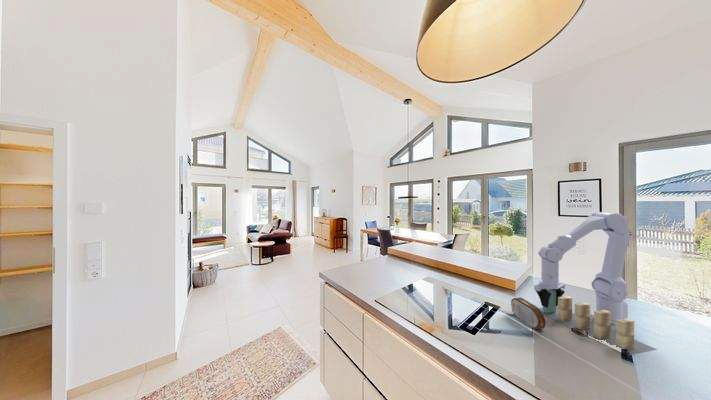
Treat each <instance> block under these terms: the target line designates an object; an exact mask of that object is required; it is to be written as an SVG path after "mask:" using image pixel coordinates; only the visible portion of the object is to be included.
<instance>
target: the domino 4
mask: <svg viewBox="0 0 711 400" xmlns="http://www.w3.org/2000/svg"><path fill="white" fill-rule="evenodd" d="M593 313H594V316H593V322H594V336H595V337H597V338H599V339H603V338H609V337H610V334H611V330H612V327H611V325H612V323H611V312H609V311H606V310H599V311H596V310H594V311H593Z"/></svg>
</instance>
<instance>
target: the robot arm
mask: <svg viewBox="0 0 711 400" xmlns="http://www.w3.org/2000/svg"><path fill="white" fill-rule="evenodd" d="M628 226H629V219H628V218H626V217H625V216H624V215H623V214H621V213H618V212H617V213H616V212H614V213H611V212H603V211H602V212H601V211H596V212H593V213H592V214H591V215H589V216H587V217H586V218H585V220H584V221H583V222H582V223H581V224H579V225H578V226H577V227H576V228H575V229H573V230H572V231H571V232H570V233H568V234H562V235H558V236H557V239H555V240H554V241H553V242H550V243H548V244H547V245H546V246H545V245H544V246H542V247H541V248H540V250H539V251H538V255H539V257H540V258H541V260H540V261H541V271H540V272H541V275H540V276H541V280H540V281H539V282H538V284H534V285H533V286H534V287H533V290H534V291H535V292H536V294H537V296H538V298H539V300H540V303H541V306H542V307H543V306H544V307H546V308H547V307H548V304H549V298H550V296H551V294H552V293H549V292H548V291H547V290H551V289H552V290H555V291H556V306H557V307H558V297H563V295H564V294H565V290H564V289H566V283H563V282H559V281H560V279H559V276H560V275H559V274H560V273H559V271H560V270H559V269H560V267H559V266H560V265H559V262H560V261H561V260H563V257H564V255H565V254H566V253H567V252H569V251H570V250H572V249H573V248H574V247H575V246H577V241H579V240H580V239H581V238H583V237H585V236H587V235H589V234H591V232H594V231H595V230H597V231H598V230H600V231H601V230H602V231H603V232H605V234H607V235H608V239H607V243H606V249H605V253H604V258H603V264H602V268H601V271H600V272H598V273H596V275H595V277H594V279H593V280H592V281H591V284H590V285H591V288H592V289H593V290H594V291H595V311H599V310H606V311H609V312H611V325H612V324H613V325H616V320H619V319H625V318H628V313H629V312H628V311H629V310H628V309H629V308H628V307H629V305H628V302H627V301H626V299H627V298H628V296H629V292H628V289H627V286H628V283H627V282H626V281H625V280H624V279H623V277H622V275H623V271H624V266H625V260H626V256H627V252H628V247H629V242H630V241H629V240H630V236H631V233H630V230H629V227H628ZM590 316H593V317H594V312H592V313H591V312H590ZM628 319H629V318H628Z"/></svg>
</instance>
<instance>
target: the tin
mask: <svg viewBox="0 0 711 400" xmlns="http://www.w3.org/2000/svg"><path fill="white" fill-rule="evenodd" d="M510 303H511V304H510V306H511V310H512V313H513V314H514V316H515V317H516V318H518V319H520V320H521V321H522V322H524V323H525V324H527V325H528V326H530V327H531V328H532V329H534V330H544V329H545V327H546V324H547V322H546V318H545V317H546V316H544V315H543V313H542V312H541V310H540V309H539V308H540V307H538V306H536V305H535V304H533V303H531V302H529V301H528V300H526V299H524V298H523V297H520V296H519V297H514V298H512V299H511V301H510Z"/></svg>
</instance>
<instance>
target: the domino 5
mask: <svg viewBox="0 0 711 400" xmlns="http://www.w3.org/2000/svg"><path fill="white" fill-rule="evenodd" d="M615 331H616V347H619V348H621V349H632V348H634V340H635V320H634V319H633V320H632V319H630V318H625V319H619V320H616V324H615Z"/></svg>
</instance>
